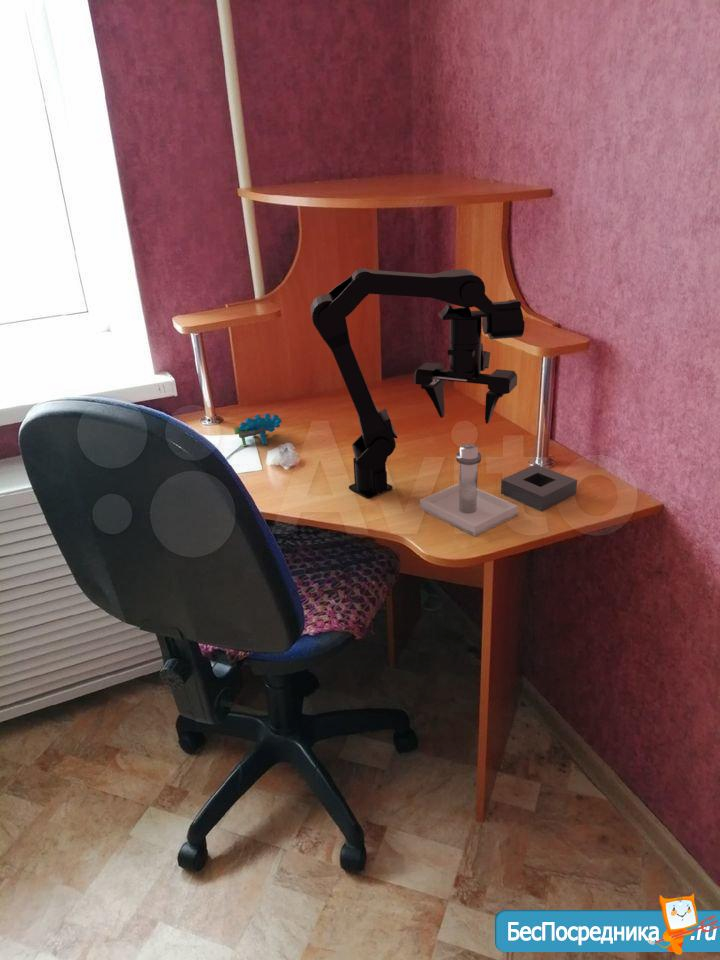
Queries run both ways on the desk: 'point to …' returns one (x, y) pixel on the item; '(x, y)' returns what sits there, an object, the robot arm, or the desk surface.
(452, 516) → the tray
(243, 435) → the blue spiky toy
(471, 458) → the steel pin
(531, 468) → the hitch block
